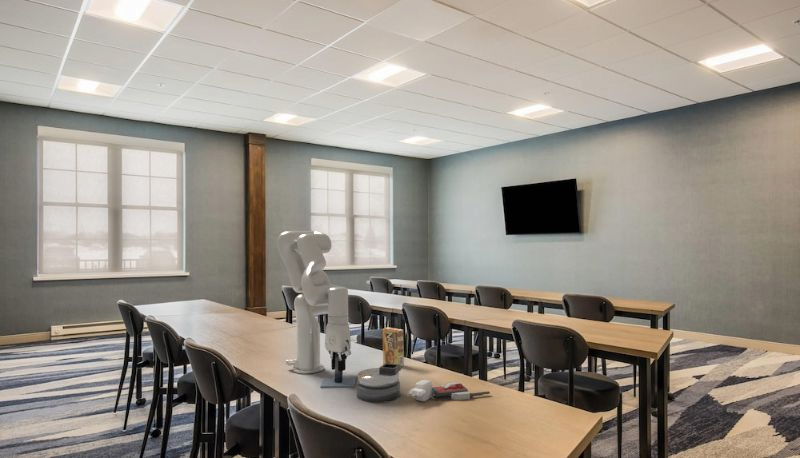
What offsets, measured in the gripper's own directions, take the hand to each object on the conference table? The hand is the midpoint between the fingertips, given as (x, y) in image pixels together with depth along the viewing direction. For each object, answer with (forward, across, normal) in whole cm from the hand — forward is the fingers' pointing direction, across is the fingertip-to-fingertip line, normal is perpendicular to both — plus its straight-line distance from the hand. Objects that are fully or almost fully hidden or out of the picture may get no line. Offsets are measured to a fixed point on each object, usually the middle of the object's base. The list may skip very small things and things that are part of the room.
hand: (338, 369), depth 174 cm
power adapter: (+6, +35, +5) cm, 36 cm away
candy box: (+5, -2, +32) cm, 32 cm away
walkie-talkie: (+6, +41, +19) cm, 46 cm away
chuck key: (+4, 0, 0) cm, 5 cm away
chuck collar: (+1, +20, +1) cm, 20 cm away
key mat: (+5, 0, 0) cm, 5 cm away
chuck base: (+5, +20, +1) cm, 21 cm away
